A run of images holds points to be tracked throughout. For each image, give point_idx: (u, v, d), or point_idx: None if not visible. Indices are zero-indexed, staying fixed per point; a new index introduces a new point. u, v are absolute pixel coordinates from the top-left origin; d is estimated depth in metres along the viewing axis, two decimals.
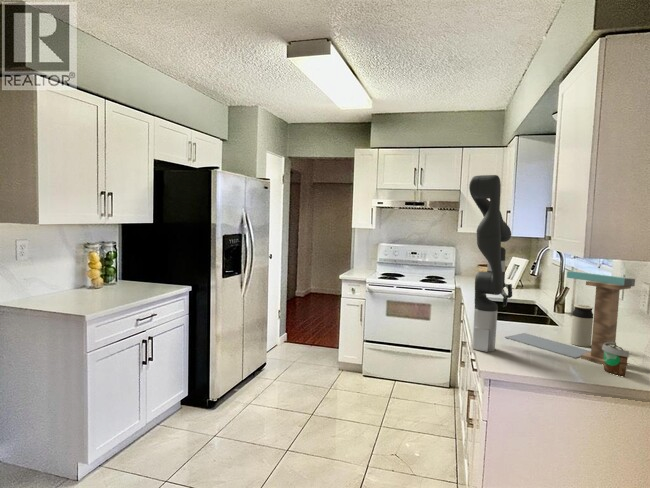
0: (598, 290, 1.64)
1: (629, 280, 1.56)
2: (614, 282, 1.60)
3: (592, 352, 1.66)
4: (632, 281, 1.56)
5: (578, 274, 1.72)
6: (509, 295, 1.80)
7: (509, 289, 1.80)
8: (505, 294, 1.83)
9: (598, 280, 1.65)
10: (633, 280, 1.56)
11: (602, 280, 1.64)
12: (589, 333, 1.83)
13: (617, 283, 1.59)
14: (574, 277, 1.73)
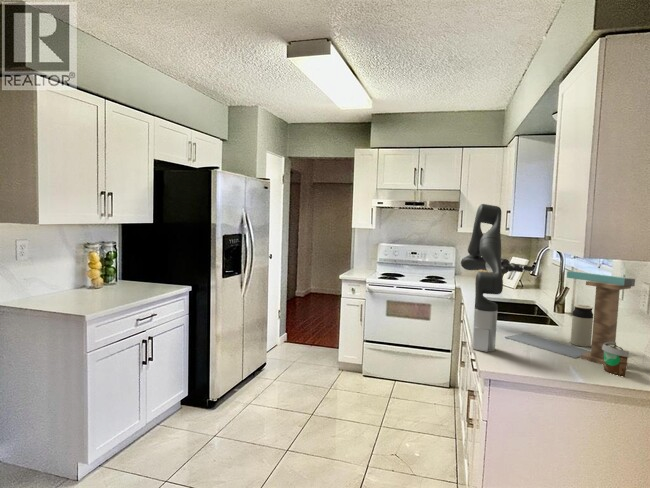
0: (598, 290, 1.64)
1: (629, 280, 1.56)
2: (614, 282, 1.60)
3: (592, 352, 1.66)
4: (632, 281, 1.56)
5: (578, 274, 1.72)
6: None
7: (503, 270, 1.96)
8: None
9: (598, 280, 1.65)
10: (633, 280, 1.56)
11: (602, 280, 1.64)
12: (589, 333, 1.83)
13: (617, 283, 1.59)
14: (574, 277, 1.73)
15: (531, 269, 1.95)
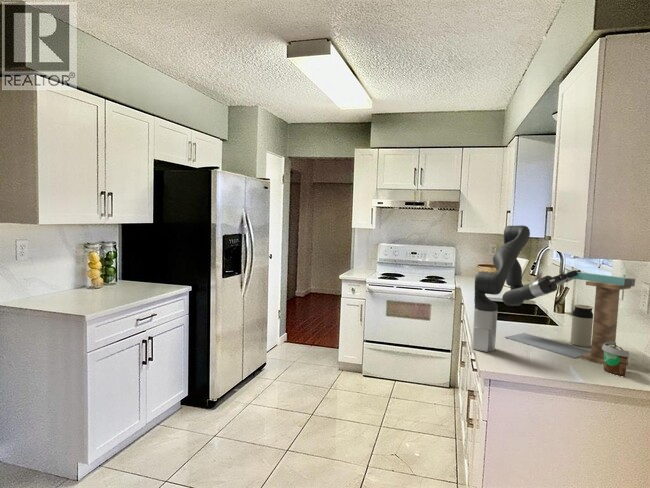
0: (598, 290, 1.64)
1: (629, 280, 1.56)
2: (614, 282, 1.60)
3: (592, 352, 1.66)
4: (632, 281, 1.56)
5: (578, 274, 1.72)
6: (563, 279, 1.75)
7: (556, 282, 1.75)
8: None
9: (598, 280, 1.65)
10: (633, 280, 1.56)
11: (602, 280, 1.64)
12: (589, 333, 1.83)
13: (617, 283, 1.59)
14: (574, 277, 1.73)
15: None
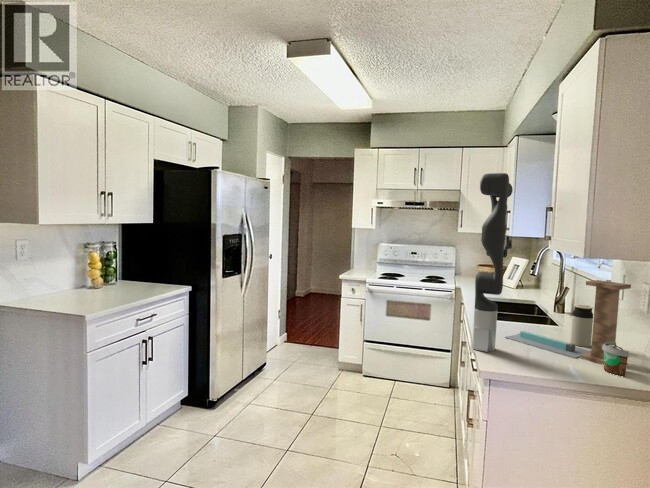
0: (598, 290, 1.64)
1: (569, 346, 1.74)
2: (557, 346, 1.79)
3: (592, 352, 1.66)
4: (572, 347, 1.74)
5: (529, 335, 1.90)
6: None
7: None
8: None
9: (545, 343, 1.84)
10: (573, 346, 1.74)
11: (548, 343, 1.82)
12: (589, 333, 1.83)
13: (560, 347, 1.78)
14: (526, 337, 1.92)
15: None
